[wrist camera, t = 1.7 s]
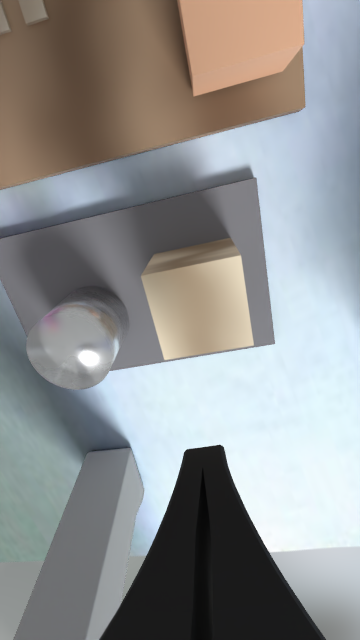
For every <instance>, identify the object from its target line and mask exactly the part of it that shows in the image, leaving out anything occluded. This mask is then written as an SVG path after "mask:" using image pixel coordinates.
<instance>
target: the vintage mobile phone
mask: <svg viewBox="0 0 360 640" xmlns="http://www.w3.org/2000/svg"><path fill="white" fill-rule="evenodd" d="M143 495H144V487H143V484H142V481H141V478H140V475H139V472H138V469H137V466H136V463H135V460H134V456H133V453H132V450H131V448H122V449H112V450H102V451H93V452H88V453H87V455H86V457H85V460H84V462H83V465H82V467H81V470H80V472H79V475H78V477H77V480H76V482H75V485H74V487H73V490H72V493H71V495H70V498H69V500H68V503H67V505H66V508H65V510H64V513H63V515H62V518H61V520H60V523H59V525H58V528H57V530H56V533H55V536H54V538H53V541H52V543H51V546H50V548H49V551H48V553H47V556H46V558H45V561H44V563H43V566H42V569H41V571H40V574H39V576H38V579H37V581H36V584H35V586H34V589H33V591H32V594H31V596H30V599H29V601H28V604H27V606H26V609H25V612H24V614H23V617H22V619H21V622H20V624H19V627H18V629H17V632H16V634H15V637H14V639H13V640H99V639H100V637H101V636H102V634H103V633H104V631H105V629H106V628H107V626H108V625H109V623H110V621H111V620H112V618H113V617H114V615H115V613H116V612H117V610H118V608H119V607H120V605H121V599H122V594H123V588H124V583H125V577H126V570H127V565H128V560H129V554H130V548H131V542H132V537H133V531H134V525H135V519H136V515H137V512H138V510H139V508H140V505H141V503H142V500H143Z"/></svg>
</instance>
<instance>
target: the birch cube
mask: <svg viewBox="0 0 360 640" xmlns="http://www.w3.org/2000/svg"><path fill="white" fill-rule="evenodd" d="M141 279H142V282H143V286H144V289H145V293H146V296H147V300H148V303H149V307H150V311H151V314H152V318H153V321H154V325H155V328H156V332H157V335H158V339H159V343H160V346H161V350H162V353H163V357H164V360H169V359H175V358H181V357H187V356H193V355H199V354H206V353H212V352H218V351H224V350H230V349H236V348H242V347H248V346H254V343H253V336H252V329H251V322H250V315H249V308H248V301H247V294H246V287H245V280H244V273H243V266H242V259H241V254H240V253H239V251H238V249H237V248H236V246H235V244H234V242H233V241H232V239H231V238H227V239H223V240H218V241H213V242H209V243H204V244H199V245H195V246H190V247H185V248H181V249H176V250H171V251H167V252H162V253H157V254H154V255H153V256H152V258H151V260H150V261H149V263H148V265H147V266H146V268H145V270H144V271H143V273H142V275H141Z"/></svg>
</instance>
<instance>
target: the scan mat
mask: <svg viewBox="0 0 360 640" xmlns="http://www.w3.org/2000/svg"><path fill="white" fill-rule="evenodd" d="M227 238H231V239H232V241H233V242H234V244H235V246H236V248H237V249H238V251H239V253H240V254H241V259H242V266H243V273H244V280H245V287H246V294H247V301H248V308H249V315H250V322H251V329H252V336H253V343H254V346H248V347H242V348H236V349H230V350H224V351H218V352H212V353H206V354H199V355H193V356H187V357H181V358H175V359H169V360H164V357H163V353H162V350H161V346H160V343H159V339H158V335H157V332H156V328H155V325H154V321H153V318H152V314H151V311H150V307H149V303H148V300H147V296H146V293H145V289H144V286H143V282H142V279H141V275H142V273H143V271H144V270H145V268H146V266H147V265H148V263H149V261H150V260H151V258H152V256H153V255H154V254H157V253H162V252H167V251H171V250H176V249H181V248H185V247H190V246H195V245H199V244H204V243H209V242H213V241H218V240H223V239H227ZM0 279H1V282H2V284H3V286H4V288H5V290H6V292H7V294H8V297H9V299H10V301H11V303H12V305H13V307H14V309H15V311H16V314H17V316H18V318H19V320H20V322H21V324H22V326H23V328H24V331H25V333H26V335H27V337H28V334H29V332H30V330H31V329H32V328H33V326H34V325H35V324H36V323H37V322H39V321H40V320H41V319H42V318H43V317H44V316H45V315H47V314H48V313H49V312H50V311H51V310H52V309H53V308H54V307H56V306H57V305H58V304H59V303H60V302H61V301H62V300H64V299H65V298H66V297H67V296H68V295H69V294H70V293H72V292H73V291H74V290H76V289H78V288H81V287H86V286H96V287H101V288H104V289H107V290H109V291H110V292H112V293H114V294H115V295H116V296H117V297H118V298H119V299H120V300H121V301H122V302H123V304H124V305H125V307H126V309H127V311H128V315H129V328H128V331H127V334H126V336H125V338H124V340H123V342H122V344H121V347H120V349H119V351H118V353H117V355H116V357H115V359H114V362H113V364H112V366H111V368H110V370H109V371H113V370H119V369H125V368H131V367H137V366H143V365H149V364H155V363H161V362H168V361H174V360H180V359H186V358H192V357H198V356H204V355H210V354H216V353H222V352H229V351H235V350H241V349H247V348H253V347H259V346H265V345H271V344H275V340H274V331H273V322H272V313H271V304H270V296H269V287H268V278H267V269H266V260H265V251H264V242H263V233H262V224H261V215H260V207H259V198H258V189H257V180H256V178H252V179H247V180H243V181H239V182H235V183H231V184H226V185H222V186H218V187H214V188H210V189H205V190H201V191H197V192H193V193H189V194H184V195H180V196H176V197H172V198H168V199H164V200H159V201H155V202H151V203H147V204H143V205H138V206H134V207H130V208H126V209H122V210H117V211H113V212H109V213H105V214H101V215H96V216H92V217H88V218H84V219H80V220H75V221H71V222H67V223H63V224H59V225H54V226H50V227H46V228H42V229H38V230H34V231H29V232H25V233H21V234H17V235H13V236H8V237H4V238H0Z"/></svg>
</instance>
